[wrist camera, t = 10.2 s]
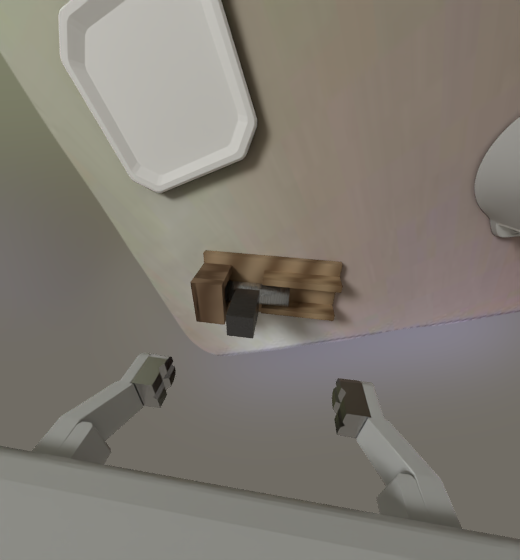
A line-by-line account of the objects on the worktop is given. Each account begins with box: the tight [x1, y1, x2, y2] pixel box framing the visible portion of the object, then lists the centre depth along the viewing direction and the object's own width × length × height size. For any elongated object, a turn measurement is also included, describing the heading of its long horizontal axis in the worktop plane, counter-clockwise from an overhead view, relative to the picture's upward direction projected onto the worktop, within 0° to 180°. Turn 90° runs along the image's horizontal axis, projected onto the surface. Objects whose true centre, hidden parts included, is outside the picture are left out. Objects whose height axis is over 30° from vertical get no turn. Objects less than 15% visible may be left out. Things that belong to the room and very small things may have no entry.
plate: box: [58, 0, 257, 193], centre depth 29 cm, size 21×21×2 cm
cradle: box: [190, 250, 343, 324], centre depth 40 cm, size 24×12×8 cm, turn 88°
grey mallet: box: [225, 280, 290, 338], centre depth 38 cm, size 14×4×11 cm, turn 88°
